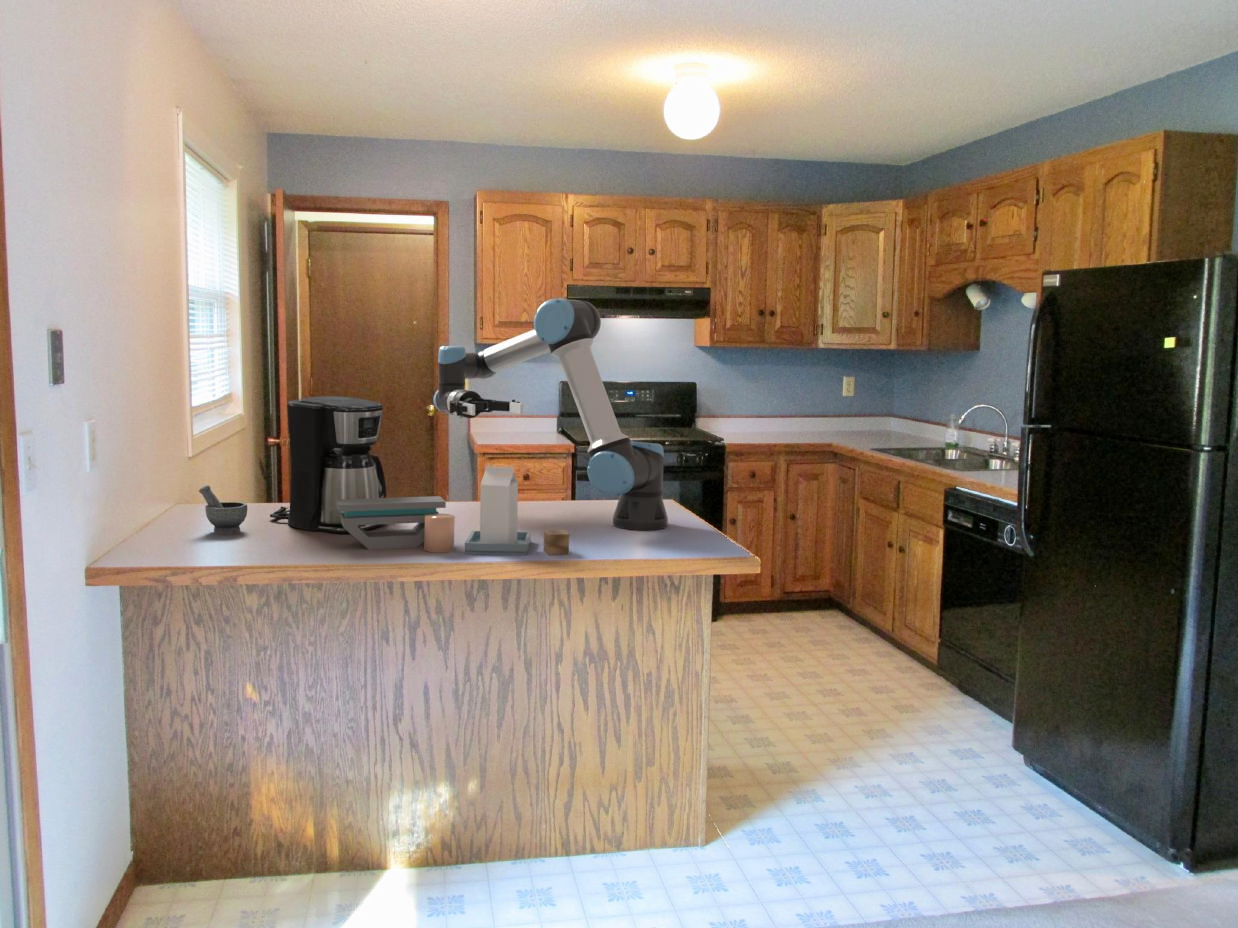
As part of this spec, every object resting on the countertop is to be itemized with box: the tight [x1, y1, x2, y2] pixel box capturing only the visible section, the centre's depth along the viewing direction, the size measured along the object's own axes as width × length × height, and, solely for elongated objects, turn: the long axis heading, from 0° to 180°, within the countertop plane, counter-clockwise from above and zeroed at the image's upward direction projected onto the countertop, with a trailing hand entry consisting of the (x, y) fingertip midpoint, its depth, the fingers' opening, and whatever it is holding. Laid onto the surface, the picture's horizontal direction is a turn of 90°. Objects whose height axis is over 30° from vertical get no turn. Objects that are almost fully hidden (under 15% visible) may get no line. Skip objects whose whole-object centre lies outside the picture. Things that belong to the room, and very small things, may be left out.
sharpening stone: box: [336, 495, 447, 550], centre depth 239 cm, size 25×8×11 cm, turn 111°
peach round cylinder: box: [423, 513, 456, 554], centre depth 235 cm, size 7×7×8 cm
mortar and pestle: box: [198, 484, 248, 535], centre depth 248 cm, size 11×9×12 cm
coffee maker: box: [269, 395, 387, 535], centre depth 259 cm, size 23×32×34 cm
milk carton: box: [479, 465, 519, 543], centre depth 238 cm, size 7×7×19 cm
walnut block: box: [543, 529, 570, 556], centre depth 235 cm, size 5×5×5 cm
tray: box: [464, 530, 532, 556], centre depth 239 cm, size 15×15×3 cm
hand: (498, 409), depth 256 cm, fingers open, 13 cm apart
